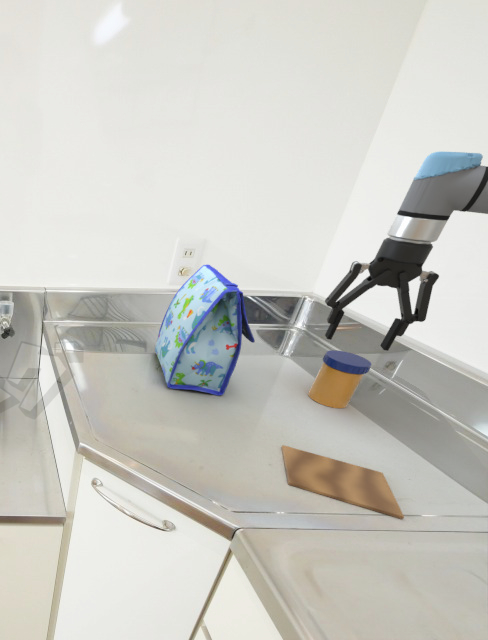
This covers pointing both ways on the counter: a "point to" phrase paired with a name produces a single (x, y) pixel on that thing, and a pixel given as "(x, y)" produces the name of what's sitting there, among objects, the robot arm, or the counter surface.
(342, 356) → the jar lid
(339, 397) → the jam jar
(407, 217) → the robot arm
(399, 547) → the counter surface
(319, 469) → the wooden cutting board
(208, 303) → the lunch bag
